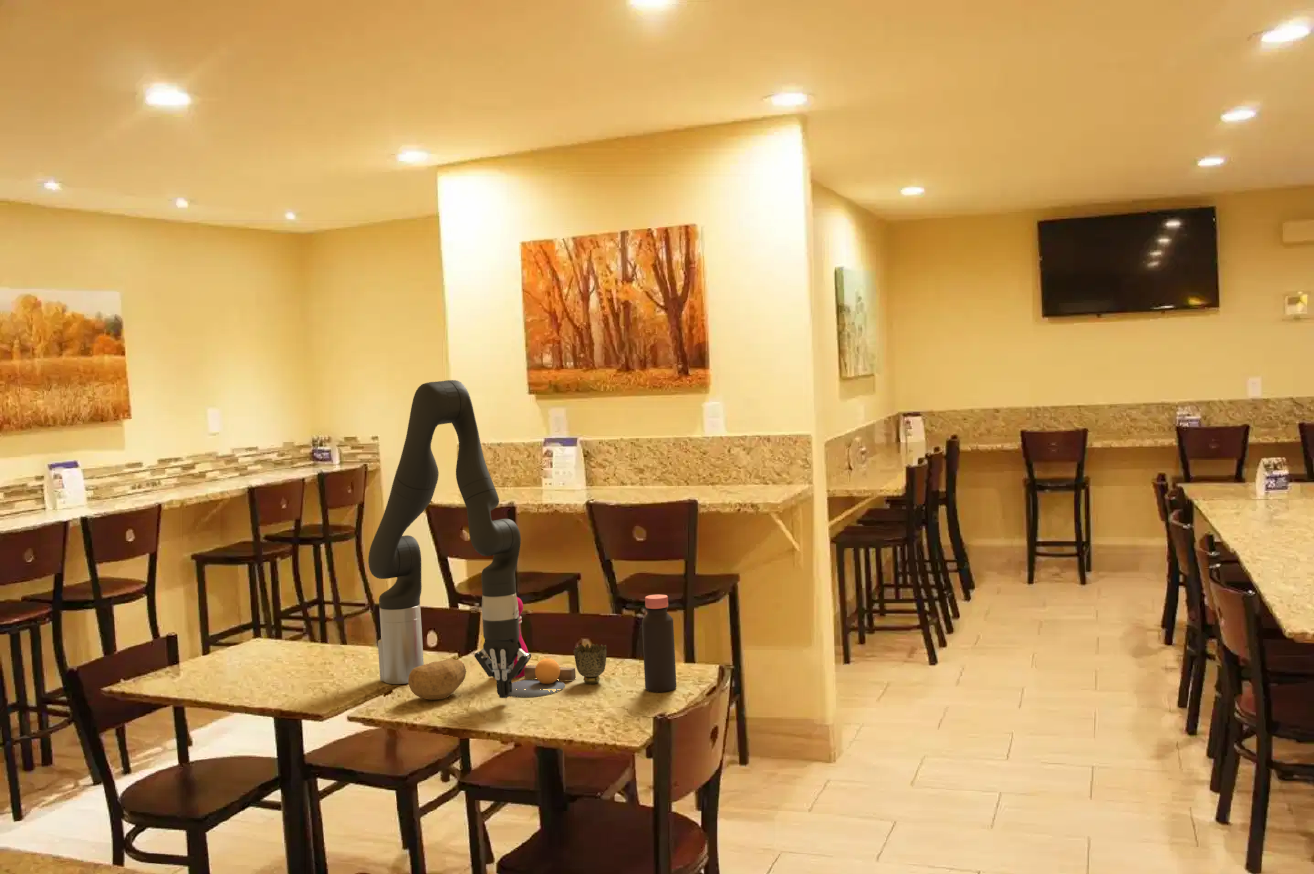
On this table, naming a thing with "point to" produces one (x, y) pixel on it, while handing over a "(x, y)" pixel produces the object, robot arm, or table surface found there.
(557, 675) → the ball
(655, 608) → the bottle
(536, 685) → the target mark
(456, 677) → the potato
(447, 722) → the table surface
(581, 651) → the cup
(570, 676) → the strip
